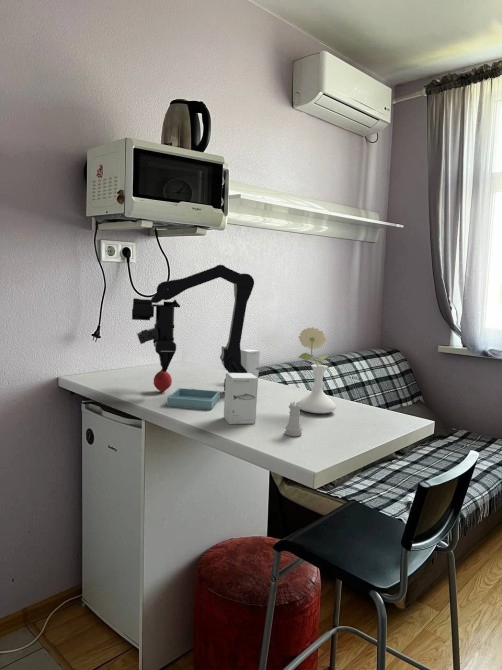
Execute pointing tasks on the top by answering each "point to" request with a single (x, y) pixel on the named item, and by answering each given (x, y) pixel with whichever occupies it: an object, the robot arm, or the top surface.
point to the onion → (162, 381)
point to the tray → (193, 398)
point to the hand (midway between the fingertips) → (163, 369)
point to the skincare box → (250, 361)
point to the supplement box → (240, 398)
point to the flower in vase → (315, 374)
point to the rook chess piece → (294, 421)
